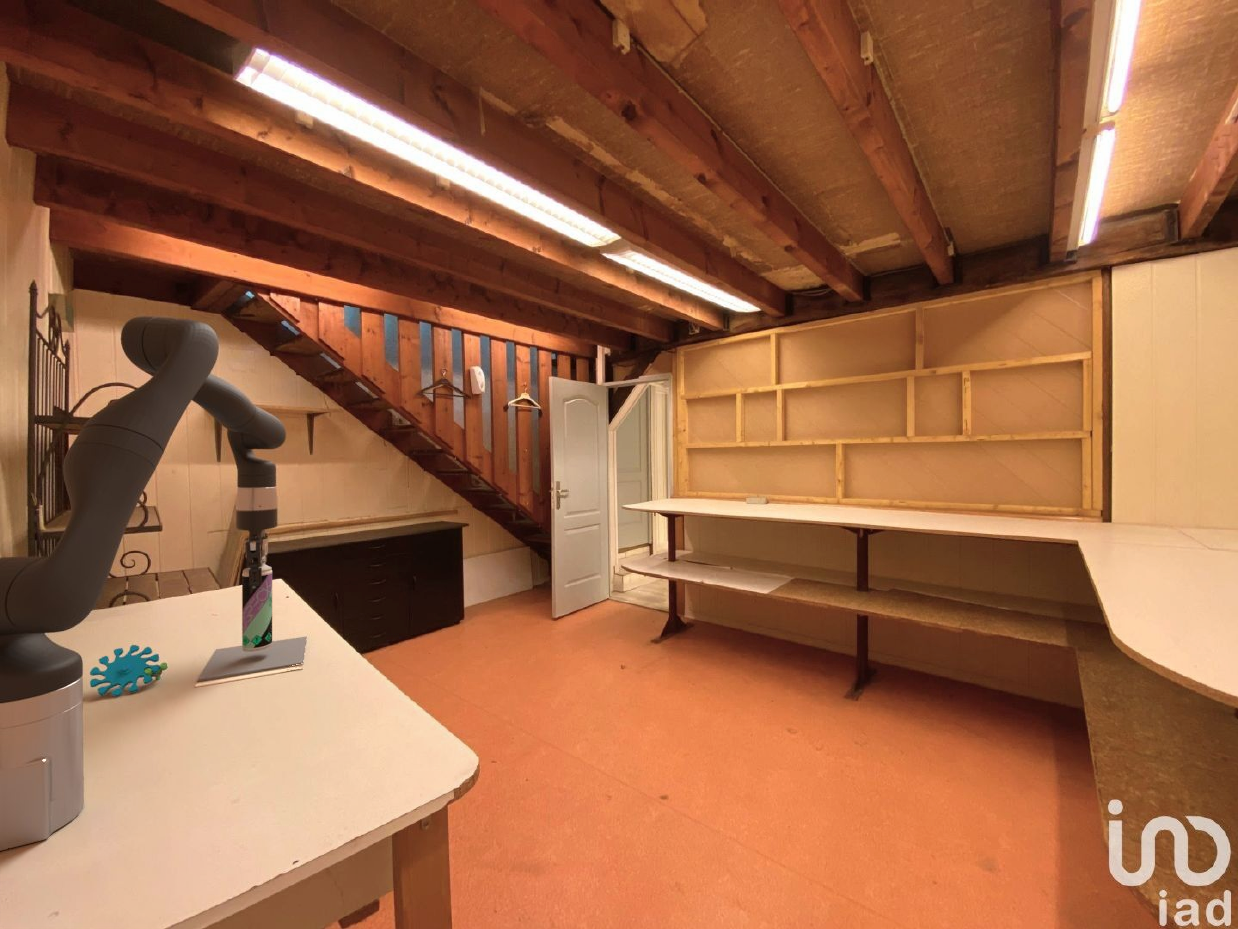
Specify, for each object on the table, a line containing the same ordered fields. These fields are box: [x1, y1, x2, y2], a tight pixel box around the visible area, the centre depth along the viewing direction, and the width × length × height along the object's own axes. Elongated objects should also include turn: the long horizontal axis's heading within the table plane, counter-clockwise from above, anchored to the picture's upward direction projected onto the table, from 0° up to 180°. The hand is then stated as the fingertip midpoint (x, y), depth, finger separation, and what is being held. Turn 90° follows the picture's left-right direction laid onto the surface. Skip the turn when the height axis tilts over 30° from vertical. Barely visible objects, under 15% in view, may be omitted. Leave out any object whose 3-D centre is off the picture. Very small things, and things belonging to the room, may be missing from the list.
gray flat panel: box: [194, 636, 308, 688], centre depth 113 cm, size 21×18×1 cm
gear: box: [89, 644, 168, 698], centre depth 100 cm, size 11×6×10 cm
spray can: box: [241, 559, 273, 652], centre depth 113 cm, size 6×6×20 cm
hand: (257, 582), depth 113 cm, fingers closed on spray can, 5 cm apart
